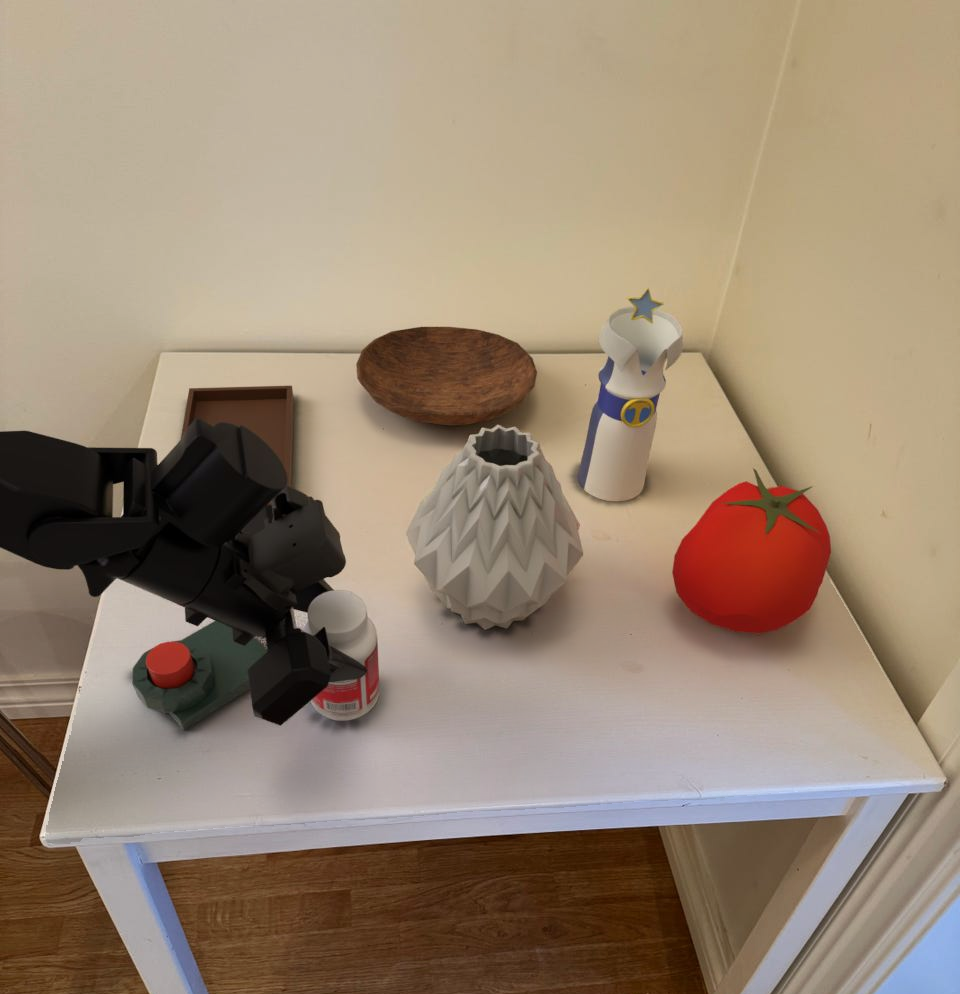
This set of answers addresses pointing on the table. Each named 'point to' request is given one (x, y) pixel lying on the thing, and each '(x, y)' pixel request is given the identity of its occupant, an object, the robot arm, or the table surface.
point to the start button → (170, 665)
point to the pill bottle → (354, 639)
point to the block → (202, 675)
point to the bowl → (446, 374)
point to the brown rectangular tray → (249, 414)
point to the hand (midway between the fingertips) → (357, 644)
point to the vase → (496, 530)
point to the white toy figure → (628, 398)
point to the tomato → (753, 559)
